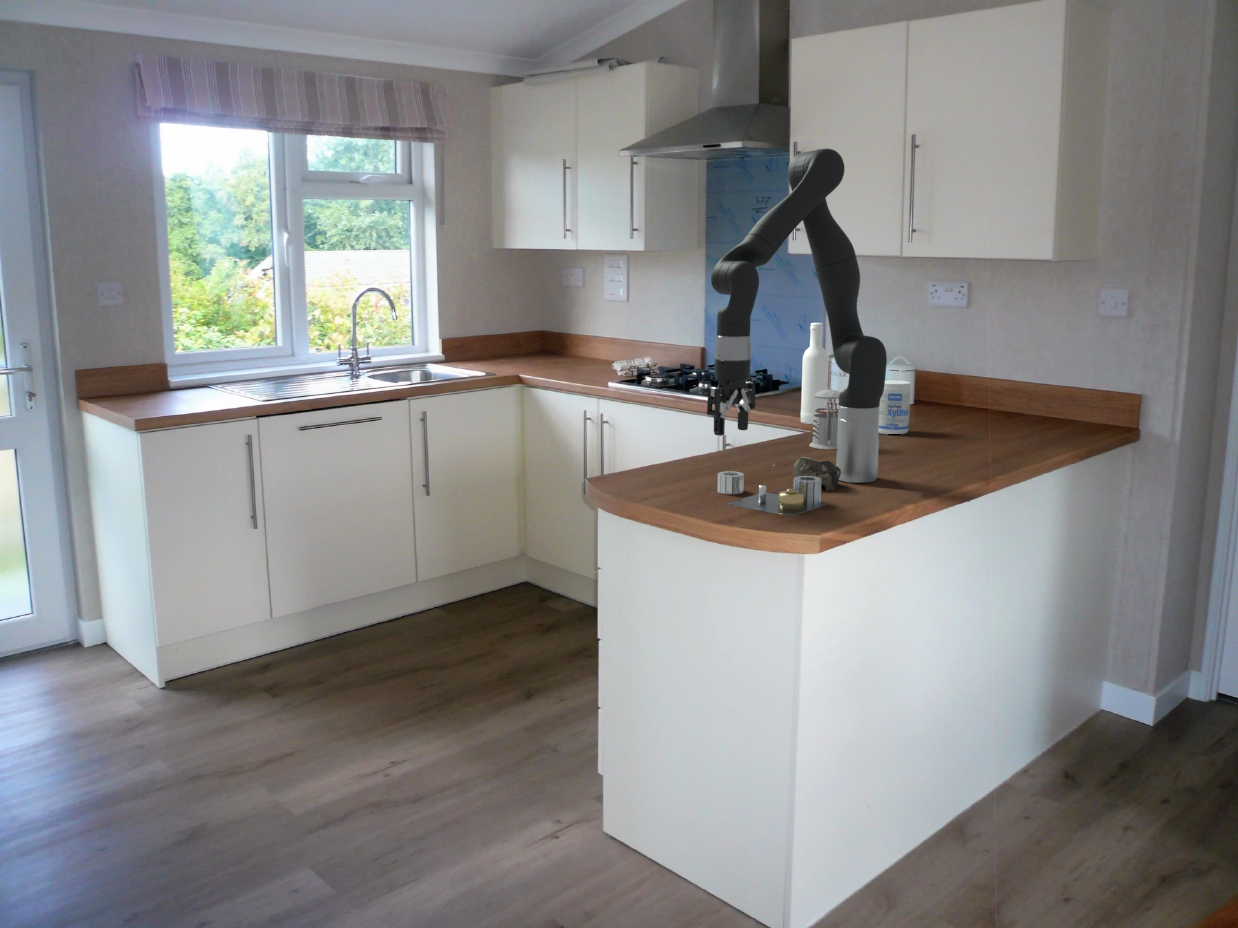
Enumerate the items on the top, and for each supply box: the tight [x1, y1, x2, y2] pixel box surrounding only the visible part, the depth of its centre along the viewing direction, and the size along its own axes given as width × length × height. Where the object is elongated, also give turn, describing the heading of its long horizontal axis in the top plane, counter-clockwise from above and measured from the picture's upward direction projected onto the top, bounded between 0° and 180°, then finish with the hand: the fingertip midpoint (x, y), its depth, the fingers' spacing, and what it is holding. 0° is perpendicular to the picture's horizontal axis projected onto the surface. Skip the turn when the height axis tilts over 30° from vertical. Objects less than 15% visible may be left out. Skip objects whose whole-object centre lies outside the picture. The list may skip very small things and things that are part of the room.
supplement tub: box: [878, 379, 912, 435], centre depth 308 cm, size 10×10×15 cm
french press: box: [808, 352, 842, 450], centre depth 287 cm, size 10×12×25 cm
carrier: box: [726, 484, 829, 518], centre depth 222 cm, size 14×16×5 cm
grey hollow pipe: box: [792, 476, 822, 506], centre depth 223 cm, size 6×6×5 cm
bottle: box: [800, 322, 830, 425], centre depth 324 cm, size 8×8×30 cm
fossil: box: [791, 456, 841, 491], centre depth 238 cm, size 11×9×10 cm
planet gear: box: [716, 470, 745, 495], centre depth 233 cm, size 6×6×5 cm
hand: (730, 432), depth 231 cm, fingers open, 8 cm apart
